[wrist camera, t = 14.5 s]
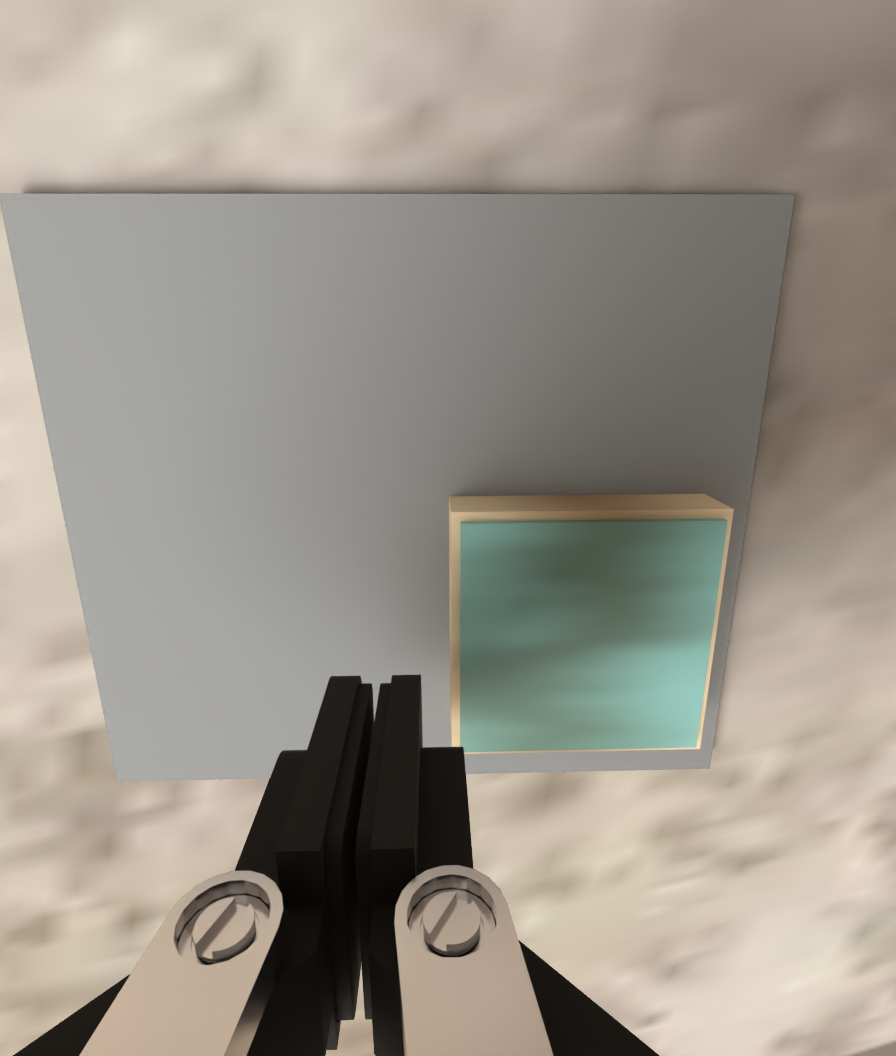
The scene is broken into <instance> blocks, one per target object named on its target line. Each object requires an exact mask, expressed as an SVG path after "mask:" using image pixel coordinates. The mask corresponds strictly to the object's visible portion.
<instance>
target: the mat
mask: <svg viewBox="0 0 896 1056" xmlns="http://www.w3.org/2000/svg"><path fill="white" fill-rule="evenodd" d="M794 197H795V194H16V193H0V204H1V209H2V214H3V219H4V224H5V229H6V234H7V239H8V244H9V249H10V254H11V258H12V263H13V268H14V273H15V278H16V283H17V288H18V293H19V298H20V303H21V308H22V313H23V318H24V323H25V328H26V333H27V338H28V342H29V347H30V352H31V357H32V362H33V367H34V372H35V377H36V382H37V387H38V392H39V397H40V402H41V407H42V412H43V417H44V421H45V426H46V431H47V436H48V441H49V446H50V451H51V456H52V461H53V466H54V471H55V476H56V481H57V486H58V491H59V496H60V501H61V505H62V510H63V515H64V520H65V525H66V530H67V535H68V540H69V545H70V550H71V555H72V560H73V565H74V570H75V575H76V580H77V585H78V589H79V594H80V599H81V604H82V609H83V614H84V619H85V624H86V629H87V634H88V639H89V644H90V649H91V654H92V659H93V664H94V668H95V673H96V678H97V683H98V688H99V693H100V698H101V703H102V708H103V713H104V718H105V723H106V728H107V733H108V738H109V743H110V748H111V752H112V757H113V762H114V767H115V772H116V777H117V782H123V781H169V780H214V779H259V778H270V777H271V774H272V771H273V769H274V766H275V764H276V761H277V758H278V756H279V754H280V753H281V752H282V751H283V750H307V748H308V745H309V742H310V739H311V736H312V732H313V729H314V726H315V723H316V720H317V717H318V713H319V710H320V707H321V704H322V701H323V697H324V694H325V691H326V688H327V685H328V682H329V679H330V677H331V676H361V680H362V684H363V683H372V688H373V707H374V720H375V714H376V708H377V701H378V695H379V688H380V684H381V683H391V678H392V675H421V689H422V737H423V747H451V729H450V590H449V496H532V495H627V494H706V495H708V496H710V497H712V498H714V499H716V500H717V501H719V502H721V503H723V504H725V505H727V506H729V507H731V508H733V509H734V511H733V518H732V525H731V532H730V539H729V547H728V554H727V561H726V568H725V575H724V582H723V589H722V596H721V603H720V610H719V617H718V624H717V631H716V639H715V646H714V653H713V660H712V667H711V674H710V681H709V688H708V695H707V702H706V709H705V716H704V723H703V731H702V738H701V745H700V749H677V750H629V751H581V752H533V753H486V754H464V758H465V771H466V774H486V773H531V772H577V771H622V770H668V769H710V764H711V757H712V750H713V743H714V737H715V730H716V723H717V717H718V710H719V703H720V696H721V690H722V683H723V676H724V669H725V663H726V656H727V649H728V642H729V636H730V629H731V622H732V615H733V609H734V602H735V595H736V588H737V582H738V575H739V568H740V561H741V555H742V548H743V541H744V534H745V528H746V521H747V514H748V508H749V501H750V494H751V487H752V481H753V474H754V467H755V460H756V454H757V447H758V440H759V433H760V427H761V420H762V413H763V406H764V400H765V393H766V386H767V379H768V373H769V366H770V359H771V352H772V346H773V339H774V332H775V326H776V319H777V312H778V305H779V299H780V292H781V285H782V278H783V272H784V265H785V258H786V251H787V245H788V238H789V231H790V224H791V218H792V211H793V204H794Z"/></svg>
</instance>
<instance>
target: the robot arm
mask: <svg viewBox="0 0 896 1056" xmlns="http://www.w3.org/2000/svg"><path fill="white" fill-rule="evenodd" d="M361 961H362V977H363V993H364V1008H365V1019H372V1023H373V1039H374V1054H375V1055H376V1056H659V1055H658V1054H657V1053H656V1052H654V1051H653V1050H652V1049H651V1048H649V1047H648V1046H647V1045H646V1044H645V1043H643V1042H642V1041H641V1040H640V1039H639V1038H637V1037H636V1036H635V1035H634V1034H632V1033H631V1032H630V1031H629V1030H628V1029H626V1028H625V1027H624V1026H623V1025H621V1024H620V1023H619V1022H618V1021H617V1020H615V1019H614V1018H613V1017H612V1016H610V1015H609V1014H608V1013H607V1012H606V1011H604V1010H603V1009H602V1008H601V1007H600V1006H598V1005H597V1004H596V1003H595V1002H593V1001H592V1000H591V999H590V998H589V997H587V996H586V995H585V994H584V993H582V992H581V991H580V990H579V989H578V988H576V987H575V986H574V985H573V984H571V983H570V982H569V981H568V980H567V979H565V978H564V977H563V976H562V975H561V974H559V973H558V972H557V971H556V970H554V969H553V968H552V967H551V966H550V965H548V964H547V963H546V962H545V961H543V960H542V959H541V958H540V957H539V956H537V955H536V954H535V953H534V952H533V951H531V950H530V949H529V948H528V947H526V946H525V945H524V944H523V943H522V942H520V941H519V940H518V937H517V934H516V931H515V927H514V924H513V921H512V917H511V914H510V911H509V908H508V904H507V902H506V900H505V898H504V896H503V894H502V892H501V890H500V888H499V887H498V886H497V885H496V884H495V883H494V882H493V881H492V880H491V879H490V878H489V877H487V876H486V875H484V874H482V873H480V872H479V871H477V870H475V869H473V859H472V846H471V834H470V821H469V808H468V796H467V783H466V771H465V758H464V748H463V747H423V737H422V689H421V675H392V678H391V683H381V684H380V688H379V695H378V701H377V708H376V714H375V720H374V707H373V688H372V683H363V684H362V680H361V676H331V677H330V679H329V682H328V685H327V688H326V691H325V694H324V697H323V701H322V704H321V707H320V710H319V713H318V717H317V720H316V723H315V726H314V729H313V732H312V736H311V739H310V742H309V745H308V748H307V750H283V751H282V752H281V753H280V754H279V756H278V758H277V761H276V764H275V766H274V769H273V771H272V774H271V777H270V779H269V782H268V785H267V787H266V790H265V793H264V795H263V798H262V800H261V803H260V806H259V808H258V811H257V814H256V816H255V819H254V821H253V824H252V827H251V829H250V832H249V835H248V837H247V840H246V843H245V845H244V848H243V850H242V853H241V856H240V858H239V861H238V864H237V866H236V869H235V871H231V872H227V873H224V874H220V875H216V876H214V877H212V878H210V879H208V880H206V881H204V882H202V883H200V884H198V885H197V886H195V887H194V888H193V889H192V890H191V891H189V892H188V893H187V894H186V895H184V896H183V897H182V898H181V899H180V900H179V902H178V903H177V904H176V905H175V906H174V908H173V909H172V910H171V911H170V913H169V914H168V916H167V917H166V919H165V921H164V922H163V924H162V925H161V927H160V928H159V930H158V932H157V933H156V935H155V936H154V938H153V940H152V941H151V943H150V944H149V946H148V947H147V949H146V951H145V952H144V954H143V955H142V957H141V959H140V960H139V962H138V963H137V965H136V967H135V968H134V970H133V971H132V973H131V974H130V975H128V976H127V977H125V978H124V979H122V980H121V981H120V982H118V983H117V984H115V985H114V986H112V987H111V988H110V989H108V990H107V991H105V992H104V993H102V994H101V995H99V996H98V997H97V998H95V999H94V1000H92V1001H91V1002H89V1003H88V1004H87V1005H85V1006H84V1007H82V1008H81V1009H79V1010H78V1011H76V1012H75V1013H74V1014H72V1015H71V1016H69V1017H68V1018H66V1019H65V1020H64V1021H62V1022H61V1023H59V1024H58V1025H56V1026H55V1027H53V1028H52V1029H51V1030H49V1031H48V1032H46V1033H45V1034H43V1035H42V1036H41V1037H39V1038H38V1039H36V1040H35V1041H33V1042H32V1043H31V1044H29V1045H28V1046H26V1047H25V1048H23V1049H22V1050H20V1051H19V1052H18V1053H16V1054H15V1055H13V1056H325V1054H326V1050H337V1045H338V1038H339V1031H340V1023H341V1020H353V1019H354V1017H355V1011H356V1004H357V995H358V986H359V978H360V969H361Z"/></svg>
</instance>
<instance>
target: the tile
mask: <svg viewBox="0 0 896 1056" xmlns="http://www.w3.org/2000/svg"><path fill="white" fill-rule="evenodd" d="M733 511H734V509H733V508H731V507H729V506H727V505H725V504H723V503H721V502H719V501H717V500H716V499H714V498H712V497H710V496H708V495H706V494H627V495H532V496H449V590H450V729H451V747H463V748H464V754H486V753H533V752H581V751H629V750H677V749H700V745H701V738H702V731H703V723H704V716H705V709H706V702H707V695H708V688H709V681H710V674H711V667H712V660H713V653H714V646H715V639H716V631H717V624H718V617H719V610H720V603H721V596H722V589H723V582H724V575H725V568H726V561H727V554H728V547H729V539H730V532H731V525H732V518H733Z"/></svg>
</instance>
